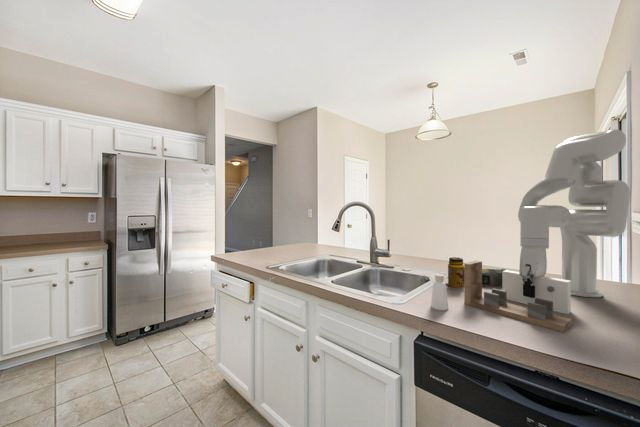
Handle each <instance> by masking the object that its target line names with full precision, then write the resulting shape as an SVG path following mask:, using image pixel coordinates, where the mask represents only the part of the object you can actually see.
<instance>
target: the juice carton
mask: <svg viewBox="0 0 640 427" xmlns="http://www.w3.org/2000/svg"><path fill="white" fill-rule="evenodd" d="M504 270H506V269H504V268H501V269H497V268H496V269H493V268H482V287H486V286H487V287H499V286H501V287H502V271H504Z"/></svg>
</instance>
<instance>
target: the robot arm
mask: <svg viewBox="0 0 640 427" xmlns="http://www.w3.org/2000/svg"><path fill="white" fill-rule="evenodd" d="M626 142H627V137H626V134H625V133H624V131H622V130H621V129H618V128H617V129H616V128H615V129H613V128H612V129H607V130H603V131H597V132H594V133H585V134H582V135H577V136H573V137H570V138H567V139H565V140H564V141H563V142H562V143H560V144H558V145H557V146H556V147H555V148H554V150H553V152H552V153H551V154H552V155H551V157H550V160H549V163H548V167H547V169H546V172H545V176H544V177H543V179H541V180H540V181H539V182H537V183H536V184H535V185H534V186H532V187H531V188H530V189H529V190H528V191H527V192H526V193H525V194H524V196H523V198H522V199H521V203H520V206H519V209H518V213H517V217H518V221H519V222H520V232H519V233H520V236H519V238H520V247H521V250H520V254H519V271H518V272H519V274H520V275H521V276H522V277H523V279H522V280H523V296H526V297H530V298H535V286H534V282H535V278H538V277H540V276H546V275H547V265H548V262H547V249H549V248H550V228H559V229H560V234H561V279H564V280H570V281H571V296H578V297H585V298H601V297H603V291H601V290H598V289H597V276H598V275H597V273H598V272H597V270H598V269H597V265H598V263H597V261H598V260H597V259H598V256H597V255H598V248H597V245H596V244H595V242H594V241H593V239H592V238H590V236H592V237H608V238H611V237H612V238H616V237H620V236H622V235H623V233H625V231H626V227H627V221H628V220H627V219H628V214H629V213H628V212H629V206H630V202H631V200H630V199H631V192H630V188H629V186H628V185H629V184H627V183H626V182H625V181H623V180H618V179H613V180H612V179H608V180H603V172H604V170H603V169H604V168H603V167H602V165H600V163H598V162H602V161H605V160H608V159H609V158H611V157H613V156H615V155H617V154H619V153H620V152H621V151H622V150H623V149H624V147H625V146H626ZM566 189H568V190H569V191H568V203H569V204H570V205H572V206H574V207H580V209H568V208H567V207H565V206H562V205H556V204H555V205H553V204H552V205H551V204H550V205H546V204H545V205H543V204H542V205H540V204H539V202H541V201H542V200H543V199H545V198H547V197H548V196H551V195H553V194H555V193H558V192H561V191H563V190H566ZM538 204H539V205H538ZM602 207H603V208H606V209H589V208H602ZM581 208H584V209H581ZM585 208H588V209H585ZM529 275H533V276H529ZM530 279H532V280H530Z"/></svg>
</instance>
